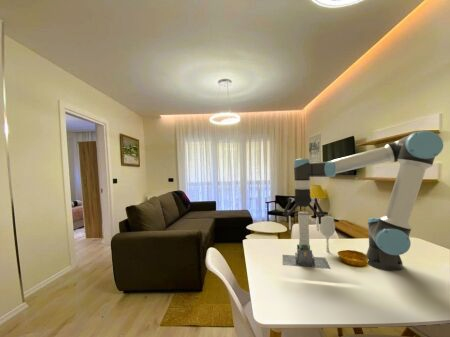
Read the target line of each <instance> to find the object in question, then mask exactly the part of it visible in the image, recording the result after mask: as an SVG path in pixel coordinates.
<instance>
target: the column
mask: <svg viewBox="0 0 450 337" xmlns="http://www.w3.org/2000/svg"><path fill="white" fill-rule="evenodd" d="M297 214H298V217H297V218H298V244H299V248H300V249H302V246H303V247H308V250H309V248H310V249H311V245H310V229H309V228H310V226H309V212H308V211H298V213H297Z"/></svg>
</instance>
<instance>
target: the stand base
mask: <svg viewBox="0 0 450 337" xmlns="http://www.w3.org/2000/svg"><path fill="white" fill-rule="evenodd" d="M296 246H297V248H296V249H297V250H296V252H295V253H294V255H292V254H282V266H288V267H289V266H290V267H303V268H314V269H328V270H331V267H330V265H329V263H328V261H327V258H326V257H322V256H321V257H319V256H314V254H313V250H312V249H311V247H310V248H309V250H308V247H303V246H302V249H300V248H299V243H298V244H297V245H296Z"/></svg>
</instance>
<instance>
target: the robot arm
mask: <svg viewBox="0 0 450 337" xmlns="http://www.w3.org/2000/svg"><path fill="white" fill-rule="evenodd" d="M443 149H444V141H443V139H442V137H441V136H440V135H439V134H437V133H435V132H433V131H430V130H420V131H415V132H412V133H410V134H409V135H407V136H404V137H402V138H400V139H398V140H396V141H392V142H389V143H386V144H385V145H384V146H381V147H378V148H375V149H370V150H366V151H363V152H359V153H355V154H351V155H347V156H343V157H340V158H335V159H332V160H328V161H316V162H315V161H314V162H313V161H311V162H310V159H309V158H297V159H294V162H293V163H294V164H293V166H294V167H293V170H294V173H293V174H294V175H293V176H294V188H295V189H294V197H288V203H287V204H286V206H285V207H284V208H285V209H284V211H283V213H282V215H283V216H284V217H286V223H287V224H288V230H289V231H292V230H291V229H292V228H291V227H292V226H291V224H292V223H291V222H292V221H291V215H292V214H293V212H294V211H295V210H296V209H297V208H298V207H301V208H302V207H303V208H304V207H305V208H307V207H309V209H311V210H312V212H313V213H314V214H315V215H316V218H315V219H316V220H315V221H316V223H315V224H316V225H315V226H316V231H317V232H320V229H319V224H321V217H324V216H326V214H325V213H324V212H323V210H322V208H321V206H320V204H319V203H318V198H317V197H313V198H311V189H310V188H311V178H330V177H332V178H333V177H335V176H336V174H339V173H344V172H348V171H352V170H357V169H361V168H365V167H370V166H374V165H380V164H384V163H388V162H390V163H396V162H398V163H399V165H400V166H399V168H398V172H397V175H396V178H395V181H394V184H393V188H392V191H391V194H390V195H389V196H390V197H389V200H388V204H387V206H386V208H385V209H386V210H385V213H384V215H383V216H380V217H369V218H368V220H367V228H368V248H367V252H366V254H365V257H366V258H368V259H369V261H368V263H367V264H368V265H370V266H372V267H374V268H377V269H381V270H384V271H385V270H387V271H401V270H402V269H404V265H403V264H404V263H403V260H402V258H401V255H404V254H405V253H407V252H408V251H409V250H410V248H411V238H410V237H409V236H410V234H411V230H412V226H411V225H410V222H409V221H410V219H411V216H412V214H413V213H412V212H413V210H414V207H415V203H416V201H417V197H418V195H419V191H420V188H421V185H422V183H423V179H424V177H425V172H426V170H427V169H428V168H431V167H432V166H433V164H434V161H435V158H436V157H437V156H438V155H439V154H441V153H442V151H443ZM293 202H295V204H294V205H293V206H292V207H291V209H290V210H289V208H290V206H291V204H292V203H293ZM312 202H313V203H314V204H315V206H316V209H318V211H317V210H316V209H315V208H314V207H313V206H312V205H311V203H312ZM319 213H320V214H319ZM366 258H365V259H366Z"/></svg>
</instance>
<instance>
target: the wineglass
mask: <svg viewBox="0 0 450 337" xmlns="http://www.w3.org/2000/svg"><path fill="white" fill-rule="evenodd" d="M335 231H336V224H335V219H334V216H328V215H325V216H324V217H321V224H319V232H320V233H321V234H322V236H324V237H325V238H326V241H325V242H326V250H324V251H323V253H325V254H333V252H332V251H330V247H329V246H330V244H329V238H331V237H332V236H333V235H334V234H335Z"/></svg>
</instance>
